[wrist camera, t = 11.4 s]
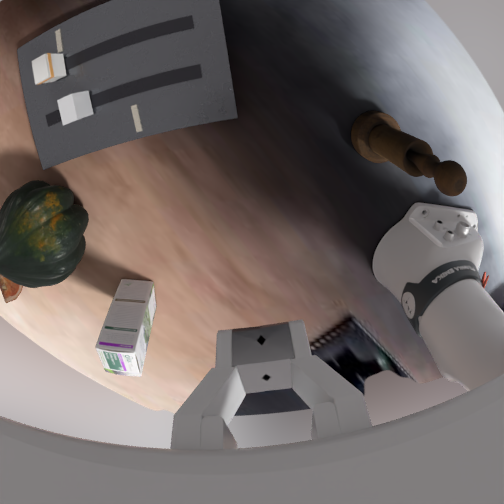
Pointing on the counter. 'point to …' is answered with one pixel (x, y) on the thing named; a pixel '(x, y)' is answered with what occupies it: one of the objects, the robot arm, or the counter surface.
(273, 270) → the counter surface
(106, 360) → the syrup box
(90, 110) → the block
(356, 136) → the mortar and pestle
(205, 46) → the console
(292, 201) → the counter surface
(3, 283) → the fruit slice
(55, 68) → the block
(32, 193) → the squash
